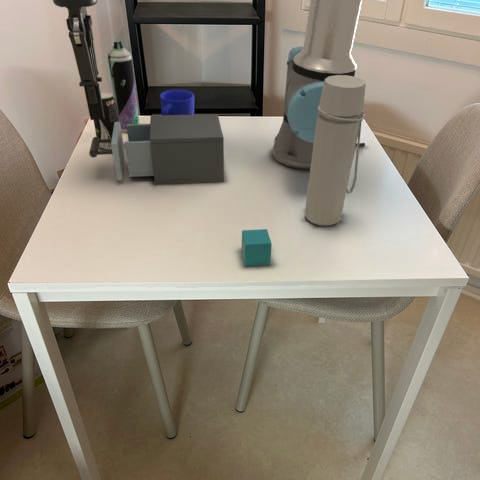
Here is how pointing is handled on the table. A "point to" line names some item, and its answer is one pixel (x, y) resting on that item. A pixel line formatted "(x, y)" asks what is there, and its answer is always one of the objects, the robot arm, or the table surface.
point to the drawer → (128, 150)
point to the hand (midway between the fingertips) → (97, 118)
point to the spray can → (123, 85)
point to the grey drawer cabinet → (187, 148)
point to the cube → (256, 247)
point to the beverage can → (107, 119)
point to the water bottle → (334, 148)
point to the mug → (177, 102)
